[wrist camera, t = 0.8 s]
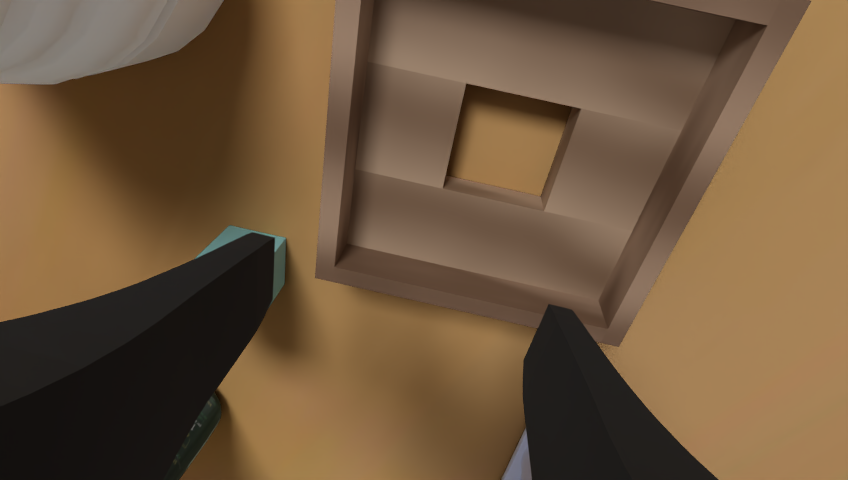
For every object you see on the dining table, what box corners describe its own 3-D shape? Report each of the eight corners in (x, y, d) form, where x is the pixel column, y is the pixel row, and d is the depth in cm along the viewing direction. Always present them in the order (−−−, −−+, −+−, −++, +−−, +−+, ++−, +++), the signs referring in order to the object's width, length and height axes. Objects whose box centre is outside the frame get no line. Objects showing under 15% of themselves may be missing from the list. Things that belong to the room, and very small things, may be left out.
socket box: (601, 298, 23) (618, 346, 20) (337, 238, 23) (315, 277, 20) (750, -4, 16) (811, 1, 13) (370, -86, 16) (343, -100, 13)
